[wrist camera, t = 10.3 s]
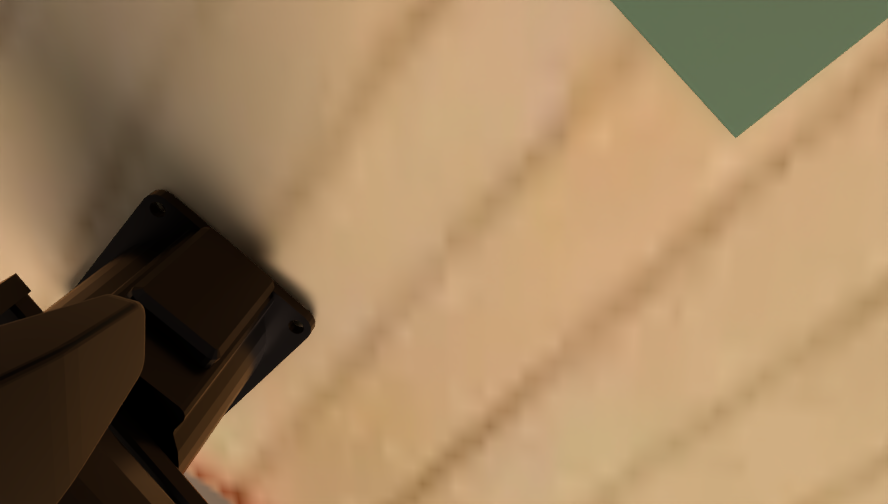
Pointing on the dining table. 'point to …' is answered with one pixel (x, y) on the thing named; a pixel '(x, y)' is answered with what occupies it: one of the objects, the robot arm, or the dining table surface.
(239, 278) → the robot arm
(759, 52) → the green mat
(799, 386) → the dining table surface
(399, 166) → the dining table surface
